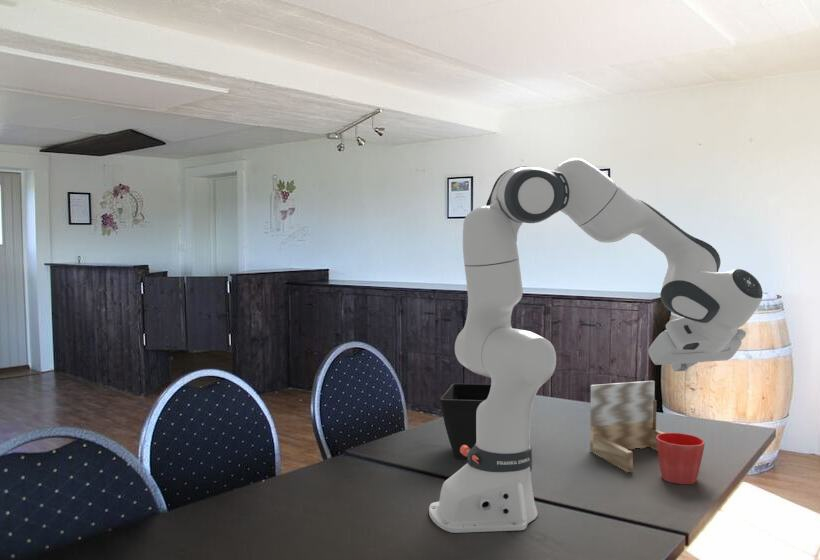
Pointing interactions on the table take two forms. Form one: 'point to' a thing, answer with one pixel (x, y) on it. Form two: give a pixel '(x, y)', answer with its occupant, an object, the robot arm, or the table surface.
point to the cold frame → (622, 421)
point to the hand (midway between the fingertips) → (678, 368)
